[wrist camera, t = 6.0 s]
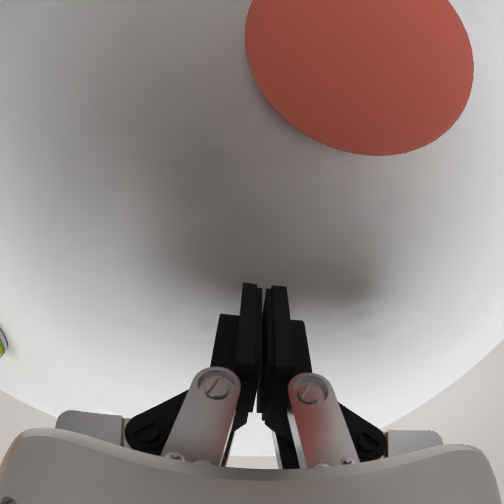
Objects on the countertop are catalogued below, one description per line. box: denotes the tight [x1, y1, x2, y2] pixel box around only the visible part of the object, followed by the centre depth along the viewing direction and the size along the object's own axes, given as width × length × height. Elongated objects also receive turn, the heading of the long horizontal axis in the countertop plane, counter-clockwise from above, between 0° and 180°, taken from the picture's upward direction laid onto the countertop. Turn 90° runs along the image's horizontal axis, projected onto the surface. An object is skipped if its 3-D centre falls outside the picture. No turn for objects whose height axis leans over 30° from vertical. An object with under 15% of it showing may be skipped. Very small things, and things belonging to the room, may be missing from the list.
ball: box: [245, 0, 474, 156], centre depth 5 cm, size 6×6×6 cm
